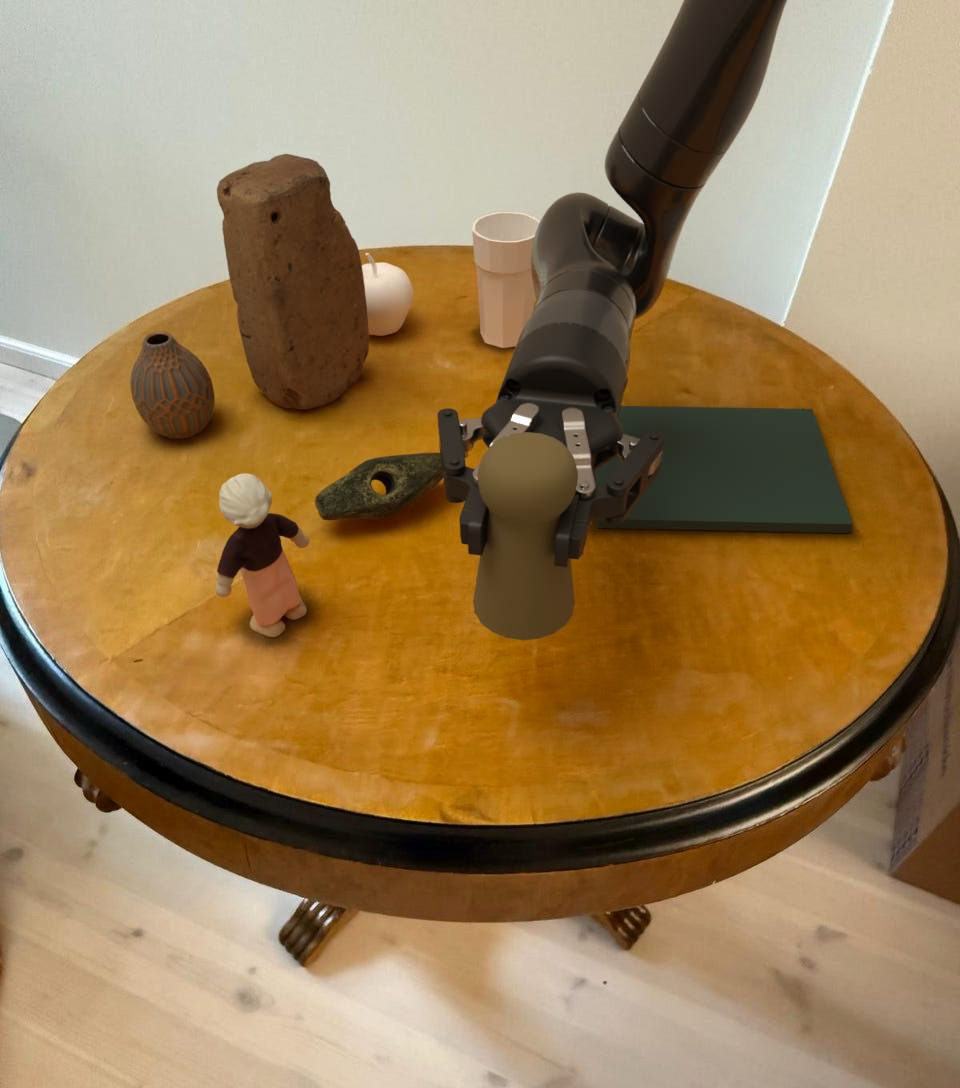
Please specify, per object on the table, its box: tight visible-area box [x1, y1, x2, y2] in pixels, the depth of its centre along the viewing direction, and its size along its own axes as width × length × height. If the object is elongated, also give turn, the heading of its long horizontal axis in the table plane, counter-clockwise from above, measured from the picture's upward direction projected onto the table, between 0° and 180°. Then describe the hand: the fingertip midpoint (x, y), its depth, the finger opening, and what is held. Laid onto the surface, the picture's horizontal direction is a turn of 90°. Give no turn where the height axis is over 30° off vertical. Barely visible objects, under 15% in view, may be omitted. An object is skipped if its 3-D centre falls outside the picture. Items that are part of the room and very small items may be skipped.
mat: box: [592, 405, 853, 534], centre depth 79 cm, size 20×16×1 cm
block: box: [216, 153, 370, 410], centre depth 81 cm, size 11×8×20 cm
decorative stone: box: [314, 452, 444, 521], centre depth 74 cm, size 11×8×5 cm
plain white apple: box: [362, 252, 414, 337], centre depth 93 cm, size 7×7×8 cm
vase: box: [130, 331, 216, 440], centre depth 81 cm, size 7×7×9 cm
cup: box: [471, 211, 541, 349], centre depth 91 cm, size 7×7×11 cm
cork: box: [472, 432, 578, 641], centre depth 51 cm, size 6×6×11 cm
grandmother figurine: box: [214, 473, 310, 638], centre depth 63 cm, size 8×4×13 cm, turn 150°
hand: (518, 548), depth 49 cm, fingers closed on cork, 4 cm apart
